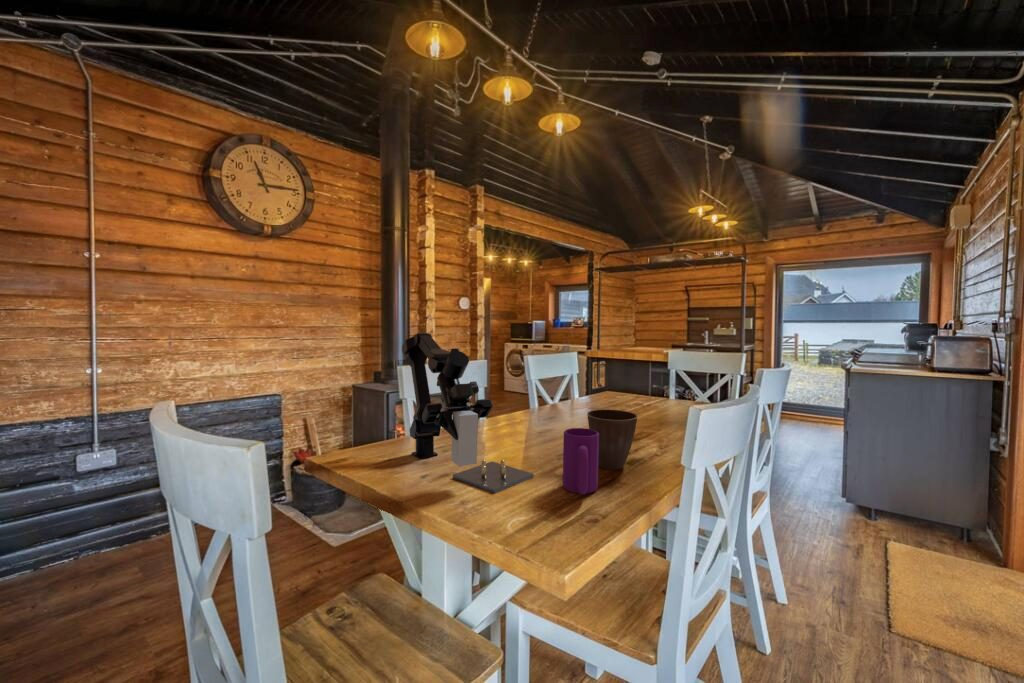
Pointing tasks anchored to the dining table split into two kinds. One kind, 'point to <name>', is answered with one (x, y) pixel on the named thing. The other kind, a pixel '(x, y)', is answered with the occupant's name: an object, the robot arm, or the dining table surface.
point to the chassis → (493, 476)
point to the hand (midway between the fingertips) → (466, 438)
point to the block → (465, 438)
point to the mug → (580, 460)
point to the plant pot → (613, 436)
